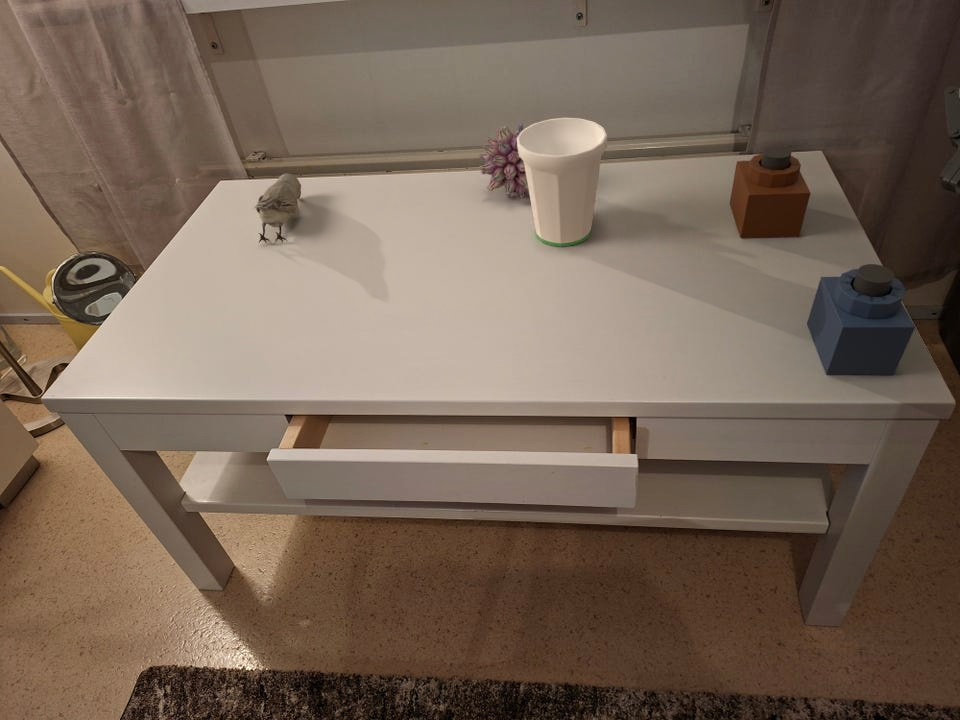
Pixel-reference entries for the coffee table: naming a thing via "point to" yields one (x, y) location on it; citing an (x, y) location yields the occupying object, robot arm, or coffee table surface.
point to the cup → (562, 176)
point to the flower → (505, 162)
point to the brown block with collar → (768, 199)
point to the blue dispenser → (859, 327)
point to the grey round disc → (776, 158)
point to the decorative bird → (279, 203)
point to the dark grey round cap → (873, 280)
